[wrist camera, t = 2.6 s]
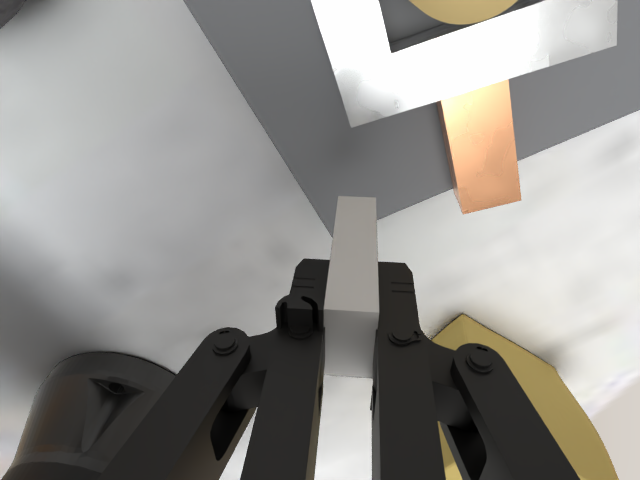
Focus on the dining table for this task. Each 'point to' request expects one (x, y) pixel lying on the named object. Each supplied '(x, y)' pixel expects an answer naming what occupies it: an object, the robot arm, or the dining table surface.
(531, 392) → the cheese
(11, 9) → the vase
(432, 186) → the jig
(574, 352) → the dining table surface
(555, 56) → the handled square frame
